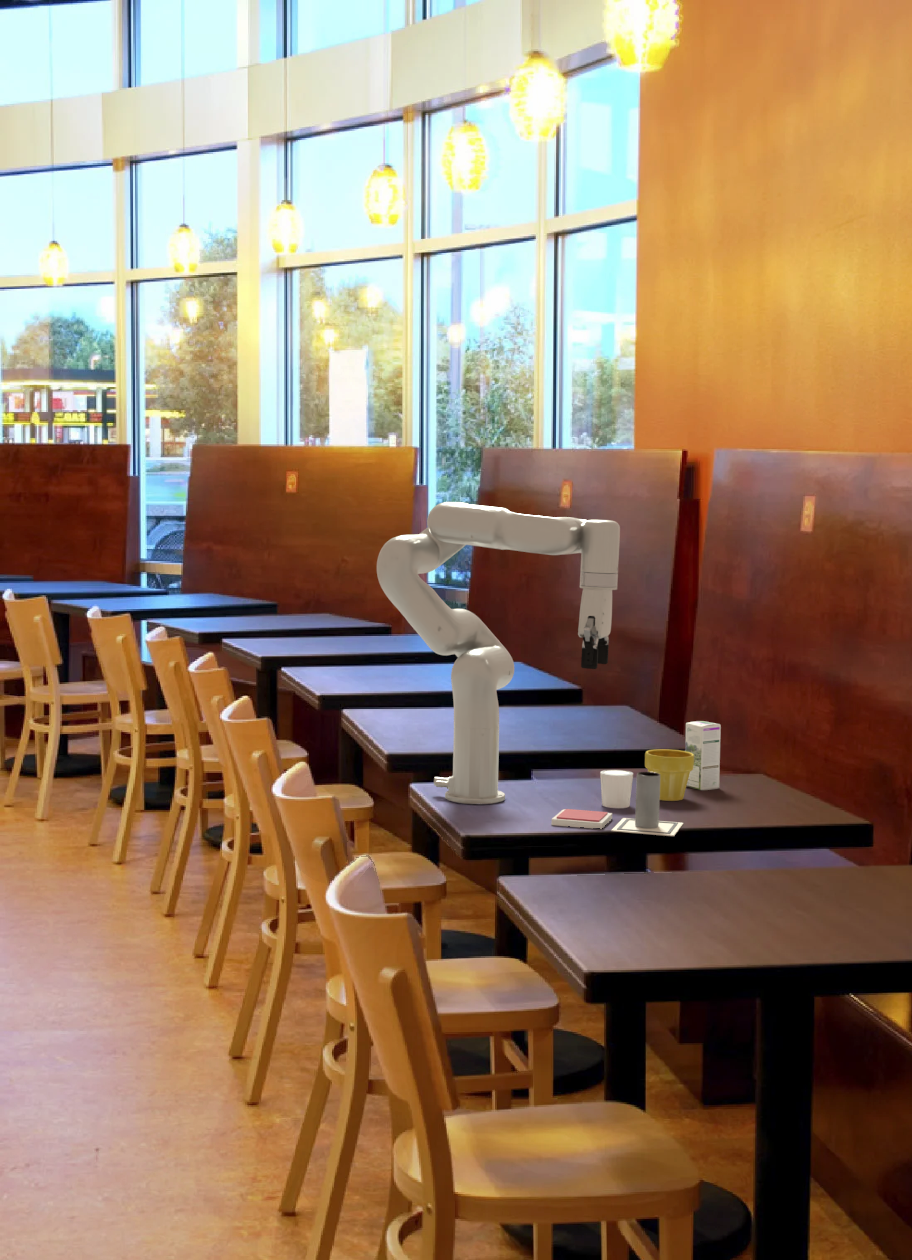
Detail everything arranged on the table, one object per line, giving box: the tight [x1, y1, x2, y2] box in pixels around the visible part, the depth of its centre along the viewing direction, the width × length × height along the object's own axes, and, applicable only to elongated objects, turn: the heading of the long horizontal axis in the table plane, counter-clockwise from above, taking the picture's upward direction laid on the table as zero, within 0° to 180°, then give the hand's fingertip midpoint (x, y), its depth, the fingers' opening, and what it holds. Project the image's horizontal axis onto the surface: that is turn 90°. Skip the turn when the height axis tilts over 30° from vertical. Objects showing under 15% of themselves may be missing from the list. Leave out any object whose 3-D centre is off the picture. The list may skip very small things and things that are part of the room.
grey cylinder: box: [634, 771, 661, 828], centre depth 296 cm, size 4×4×10 cm
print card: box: [610, 817, 684, 837], centre depth 297 cm, size 12×12×1 cm
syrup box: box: [684, 720, 722, 791], centre depth 339 cm, size 6×6×14 cm
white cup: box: [599, 769, 634, 809], centre depth 318 cm, size 7×7×7 cm
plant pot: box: [644, 748, 694, 802], centre depth 326 cm, size 10×10×10 cm
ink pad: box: [550, 808, 613, 830], centre depth 300 cm, size 10×10×2 cm
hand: (594, 666), depth 309 cm, fingers open, 9 cm apart
